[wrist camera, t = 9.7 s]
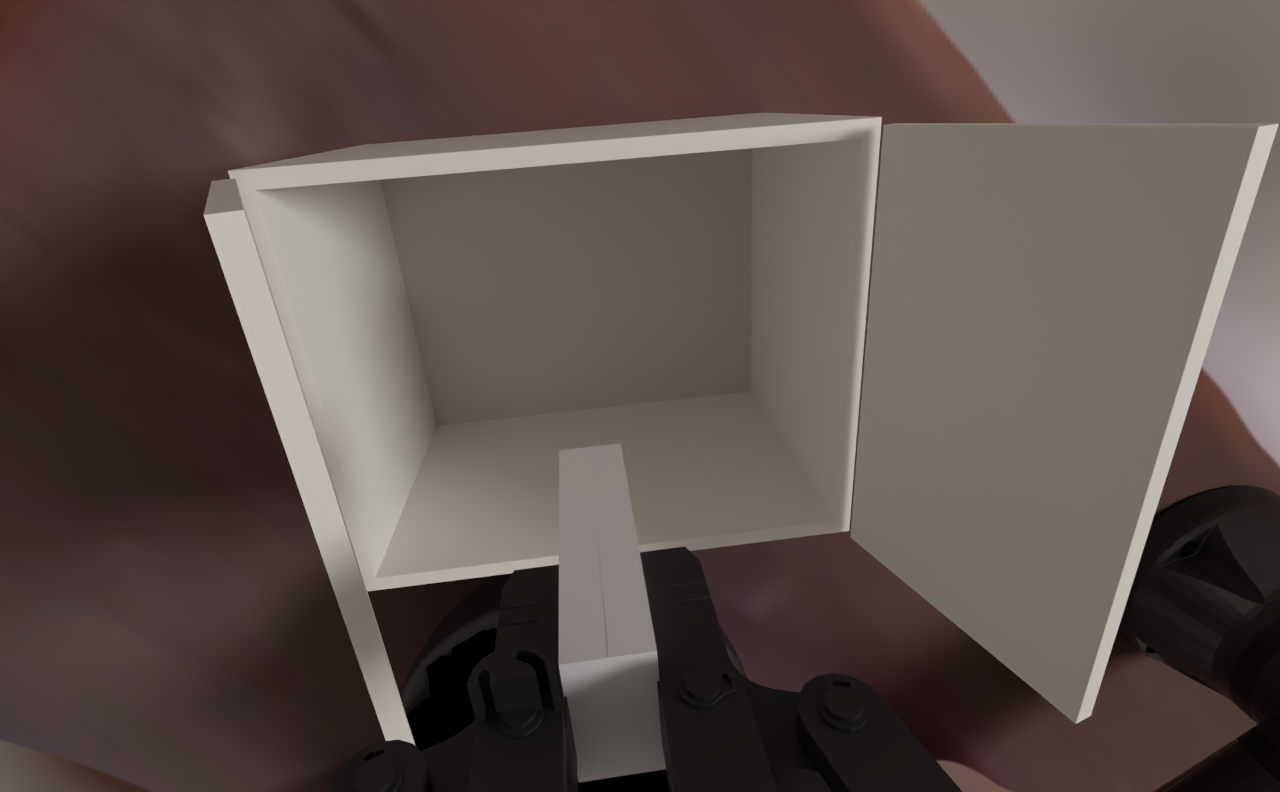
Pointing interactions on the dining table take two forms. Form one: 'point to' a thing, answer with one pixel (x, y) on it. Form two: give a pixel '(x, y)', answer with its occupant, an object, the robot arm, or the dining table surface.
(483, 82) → the dining table surface
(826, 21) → the dining table surface
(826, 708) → the robot arm
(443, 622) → the bowl of black rocks
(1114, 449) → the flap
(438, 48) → the dining table surface
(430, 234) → the carton
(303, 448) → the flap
